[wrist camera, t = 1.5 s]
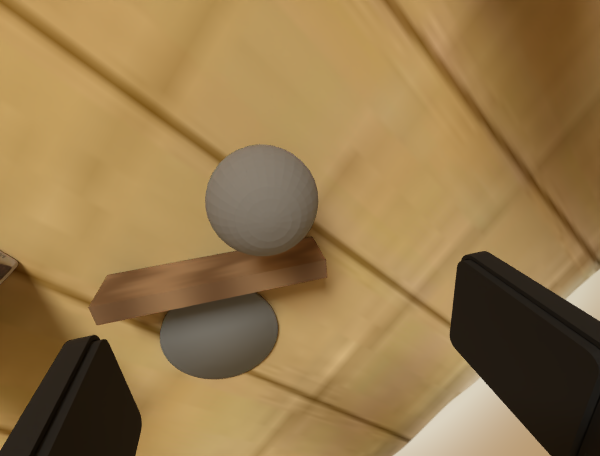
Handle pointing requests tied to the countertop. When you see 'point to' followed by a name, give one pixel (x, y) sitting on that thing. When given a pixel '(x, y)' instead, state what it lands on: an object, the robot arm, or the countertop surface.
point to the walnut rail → (203, 281)
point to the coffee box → (6, 266)
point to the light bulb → (261, 200)
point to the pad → (219, 336)
